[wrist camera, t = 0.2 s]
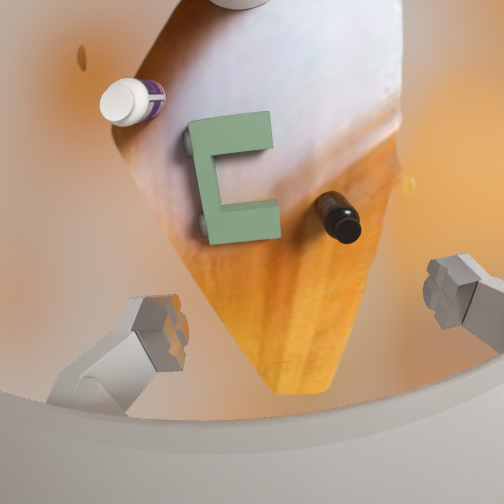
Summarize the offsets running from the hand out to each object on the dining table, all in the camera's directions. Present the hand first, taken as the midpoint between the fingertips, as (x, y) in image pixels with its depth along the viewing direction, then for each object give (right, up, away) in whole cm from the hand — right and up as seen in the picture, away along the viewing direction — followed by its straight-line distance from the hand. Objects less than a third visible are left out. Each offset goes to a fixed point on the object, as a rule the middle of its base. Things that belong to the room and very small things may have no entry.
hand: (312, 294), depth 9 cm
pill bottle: (-21, +30, +38) cm, 53 cm away
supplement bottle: (+14, +11, +50) cm, 53 cm away
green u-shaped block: (-4, +16, +46) cm, 49 cm away
